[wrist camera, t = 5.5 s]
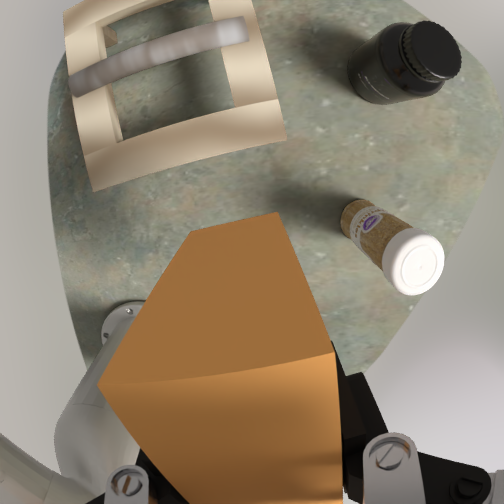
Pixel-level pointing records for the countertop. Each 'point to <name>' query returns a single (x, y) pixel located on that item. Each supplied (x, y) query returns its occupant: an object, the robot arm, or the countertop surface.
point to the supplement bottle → (404, 63)
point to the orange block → (233, 373)
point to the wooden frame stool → (155, 53)
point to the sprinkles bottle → (394, 246)
